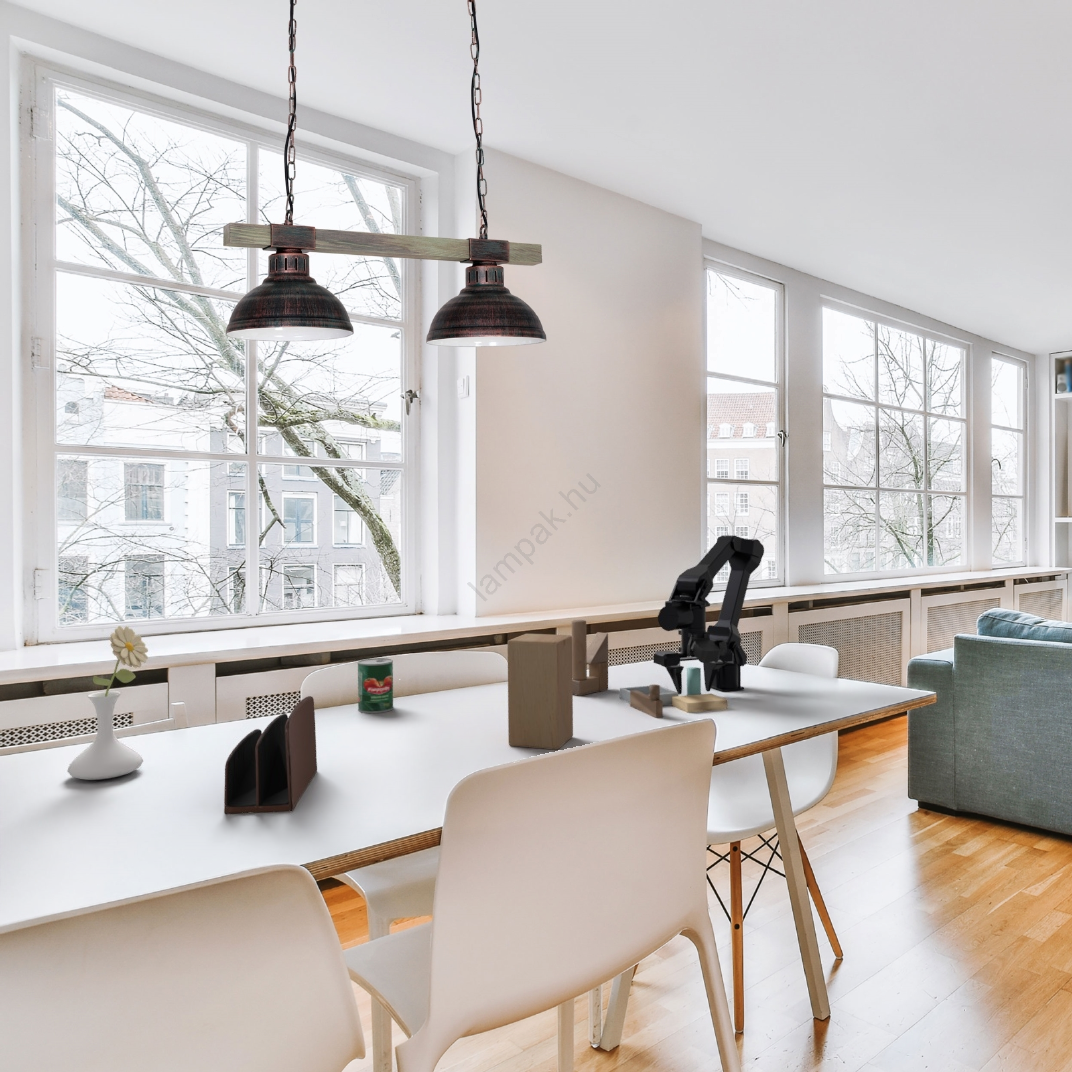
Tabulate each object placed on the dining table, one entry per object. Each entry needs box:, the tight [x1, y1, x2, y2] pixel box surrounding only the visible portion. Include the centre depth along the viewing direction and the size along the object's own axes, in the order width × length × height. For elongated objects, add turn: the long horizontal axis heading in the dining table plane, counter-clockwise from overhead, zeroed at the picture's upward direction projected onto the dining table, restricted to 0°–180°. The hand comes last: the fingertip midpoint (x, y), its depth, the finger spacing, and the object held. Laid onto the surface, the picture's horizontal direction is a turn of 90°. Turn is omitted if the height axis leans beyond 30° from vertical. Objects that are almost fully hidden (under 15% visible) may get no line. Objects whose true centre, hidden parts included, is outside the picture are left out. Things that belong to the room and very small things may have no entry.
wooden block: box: [507, 633, 574, 751], centre depth 157 cm, size 10×10×20 cm
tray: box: [619, 685, 679, 706], centre depth 191 cm, size 10×10×2 cm
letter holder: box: [223, 695, 318, 815], centre depth 130 cm, size 10×20×14 cm, turn 5°
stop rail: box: [629, 684, 664, 719], centre depth 181 cm, size 2×12×6 cm, turn 20°
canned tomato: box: [357, 657, 394, 714], centre depth 186 cm, size 8×8×11 cm
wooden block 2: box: [571, 619, 609, 697], centre depth 202 cm, size 4×11×18 cm, turn 135°
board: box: [671, 693, 728, 714], centre depth 185 cm, size 10×7×2 cm
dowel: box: [686, 666, 702, 696], centre depth 194 cm, size 3×3×7 cm
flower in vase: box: [66, 625, 149, 781], centre depth 140 cm, size 13×11×25 cm
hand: (693, 692), depth 194 cm, fingers open, 7 cm apart
